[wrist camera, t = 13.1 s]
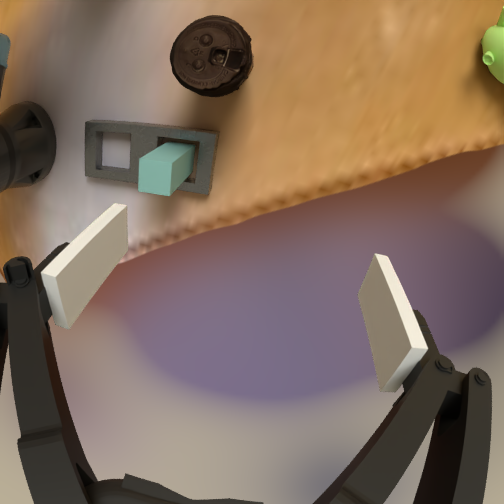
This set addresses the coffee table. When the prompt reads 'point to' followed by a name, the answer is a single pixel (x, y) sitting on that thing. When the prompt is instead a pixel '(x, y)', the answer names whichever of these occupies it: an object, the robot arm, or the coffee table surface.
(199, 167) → the grey flat frame
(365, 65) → the coffee table surface
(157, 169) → the teal brick
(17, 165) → the robot arm
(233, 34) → the coffee cup
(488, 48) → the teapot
